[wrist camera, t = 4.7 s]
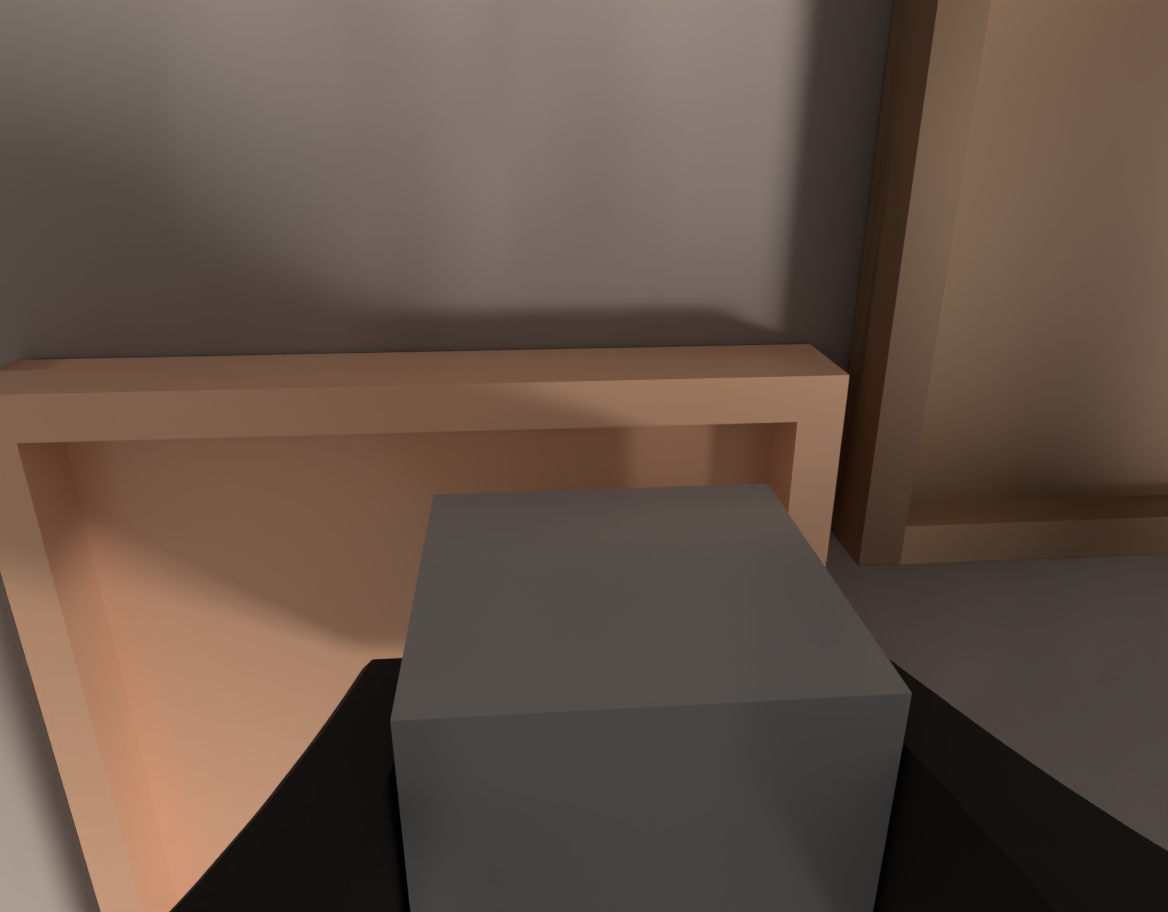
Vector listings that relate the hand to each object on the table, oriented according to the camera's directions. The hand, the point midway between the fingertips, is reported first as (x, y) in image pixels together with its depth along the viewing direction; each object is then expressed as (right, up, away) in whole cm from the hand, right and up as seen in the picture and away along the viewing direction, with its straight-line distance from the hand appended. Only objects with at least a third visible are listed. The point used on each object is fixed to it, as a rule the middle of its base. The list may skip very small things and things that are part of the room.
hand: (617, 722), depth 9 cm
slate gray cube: (0, +1, +2) cm, 2 cm away
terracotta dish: (-2, -1, +4) cm, 5 cm away
